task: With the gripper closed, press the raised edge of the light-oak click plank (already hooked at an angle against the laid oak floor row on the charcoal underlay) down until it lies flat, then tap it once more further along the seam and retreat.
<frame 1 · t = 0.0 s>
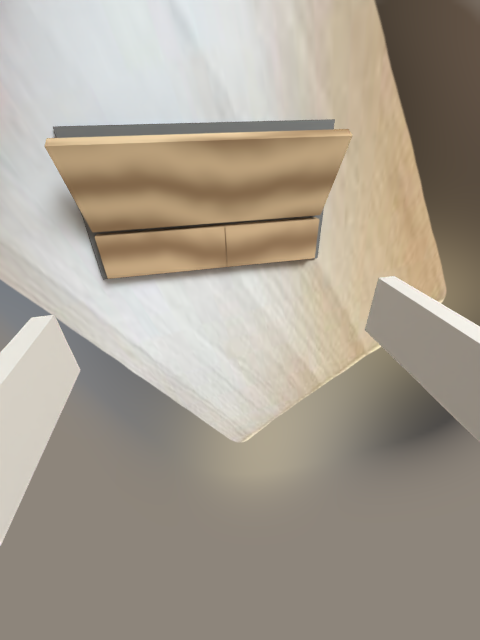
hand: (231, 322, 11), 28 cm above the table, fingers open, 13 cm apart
underlay: (210, 204, 35), on the table
laid plank: (213, 244, 38), resting on underlay
click plank: (211, 184, 30), point 4 cm above the table, hinge at 30.0°
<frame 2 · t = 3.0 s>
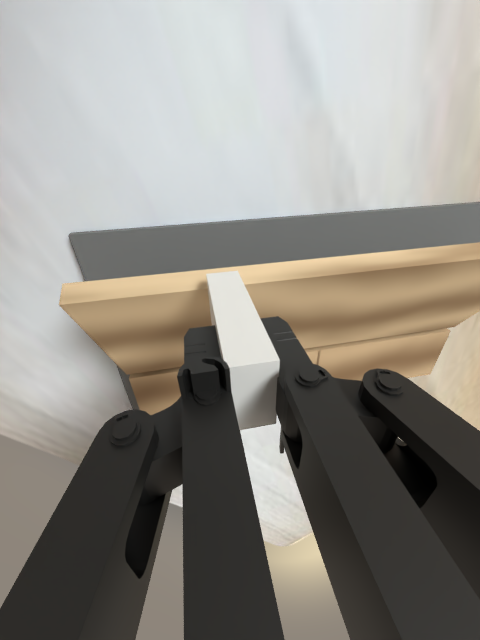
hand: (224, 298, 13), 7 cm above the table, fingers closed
underlay: (298, 318, 23), on the table
laid plank: (294, 363, 26), resting on underlay
click plank: (321, 312, 19), point 4 cm above the table, hinge at 28.2°, touching gripper
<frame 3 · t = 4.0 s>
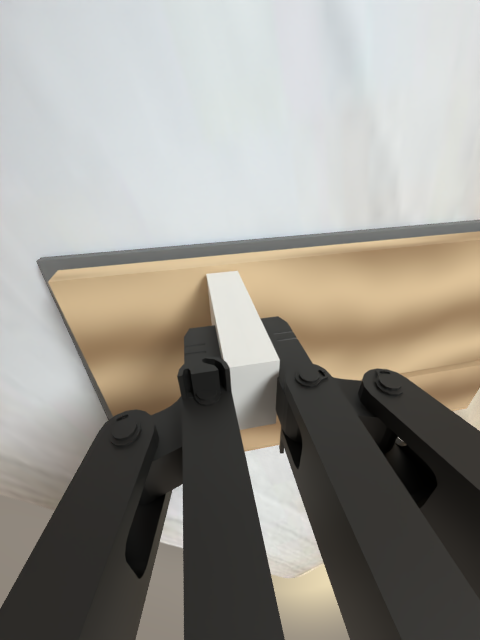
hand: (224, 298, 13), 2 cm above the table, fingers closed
underlay: (319, 350, 20), on the table
laid plank: (312, 399, 23), resting on underlay
click plank: (335, 324, 17), point 1 cm above the table, hinge at 3.0°, touching gripper
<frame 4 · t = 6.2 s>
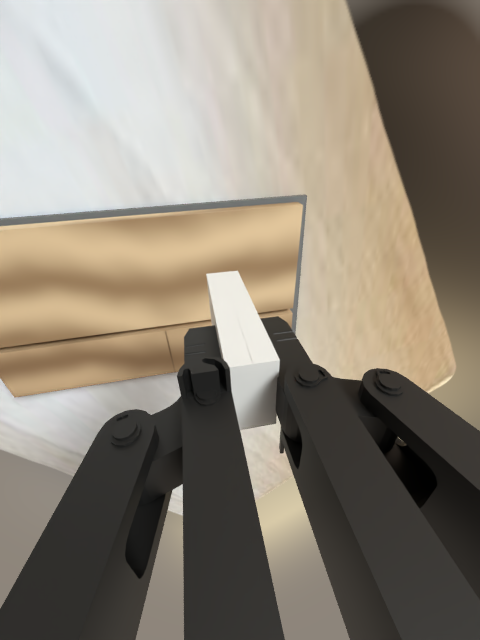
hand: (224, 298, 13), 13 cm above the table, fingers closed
underlay: (145, 302, 26), on the table
laid plank: (156, 344, 29), resting on underlay
click plank: (135, 278, 23), point 1 cm above the table, hinge at 3.0°
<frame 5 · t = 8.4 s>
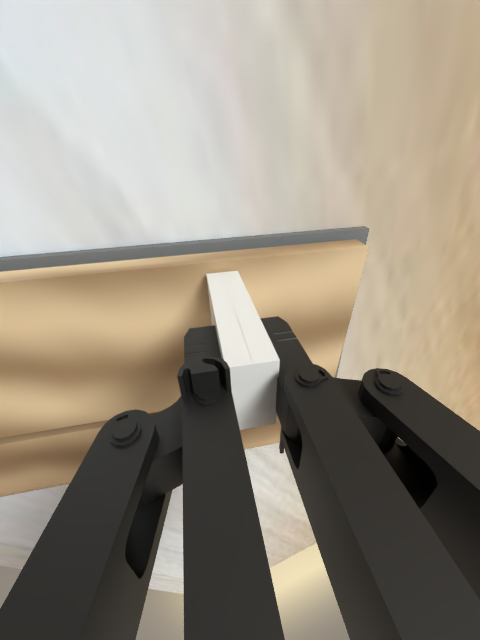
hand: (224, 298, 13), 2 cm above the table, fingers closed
underlay: (119, 377, 18), on the table
laid plank: (138, 427, 21), resting on underlay
click plank: (99, 353, 15), point 1 cm above the table, hinge at 3.0°, touching gripper
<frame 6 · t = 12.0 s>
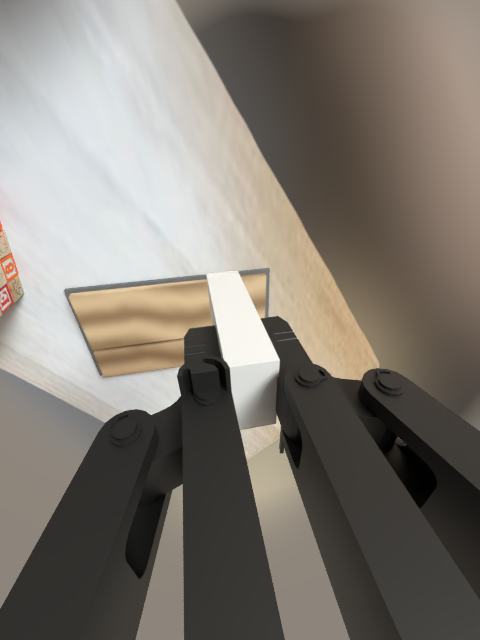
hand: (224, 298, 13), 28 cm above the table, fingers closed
underlay: (180, 323, 46), on the table
laid plank: (184, 347, 49), resting on underlay
click plank: (177, 312, 44), point 1 cm above the table, hinge at 3.0°
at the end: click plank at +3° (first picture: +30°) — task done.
